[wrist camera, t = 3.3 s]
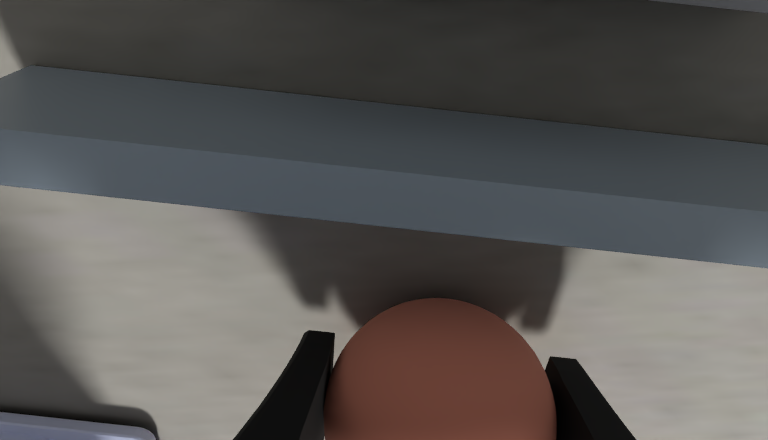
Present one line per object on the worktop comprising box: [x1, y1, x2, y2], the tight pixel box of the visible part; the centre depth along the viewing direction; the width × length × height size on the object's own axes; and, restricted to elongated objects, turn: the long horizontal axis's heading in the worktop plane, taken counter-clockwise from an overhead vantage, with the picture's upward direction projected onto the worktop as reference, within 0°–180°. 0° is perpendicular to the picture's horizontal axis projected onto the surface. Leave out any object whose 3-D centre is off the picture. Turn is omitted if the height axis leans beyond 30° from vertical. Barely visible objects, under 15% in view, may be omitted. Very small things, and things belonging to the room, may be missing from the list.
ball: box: [323, 298, 557, 440], centre depth 11 cm, size 5×5×5 cm
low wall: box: [0, 65, 768, 268], centre depth 9 cm, size 1×16×3 cm, turn 85°
